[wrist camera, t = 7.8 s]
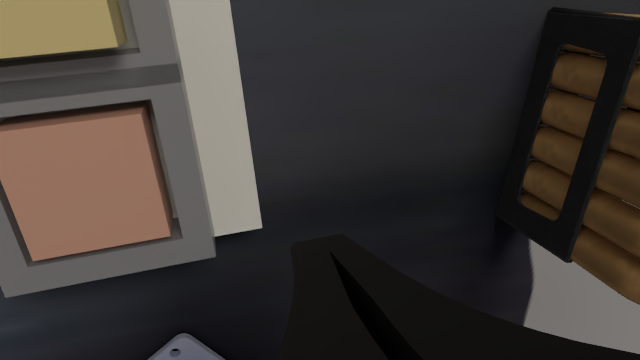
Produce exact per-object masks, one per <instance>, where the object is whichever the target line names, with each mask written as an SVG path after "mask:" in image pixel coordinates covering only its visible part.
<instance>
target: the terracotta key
mask: <svg viewBox="0 0 640 360" xmlns="http://www.w3.org/2000/svg"><path fill="white" fill-rule="evenodd" d="M0 180H1V183H2V185H3V188H4V190H5V193H6V195H7V198H8V200H9V203H10V205H11V208H12V210H13V213H14V215H15V218H16V220H17V223H18V225H19V228H20V230H21V233H22V235H23V238H24V240H25V243H26V245H27V248H28V250H29V253H30V255H31V258H32V260H33V261H37V260H43V259H48V258H54V257H59V256H65V255H70V254H76V253H81V252H87V251H92V250H98V249H103V248H109V247H114V246H120V245H125V244H131V243H136V242H142V241H147V240H153V239H158V238H164V237H169V236H171V229H172V220H173V210H172V206H171V201H170V197H169V193H168V188H167V184H166V180H165V176H164V171H163V167H162V163H161V159H160V154H159V150H158V146H157V141H156V137H155V133H154V129H153V124H152V120H151V116H150V112H149V107H148V103H147V101H144V102H136V103H128V104H120V105H111V106H103V107H95V108H87V109H79V110H71V111H63V112H55V113H46V114H38V115H30V116H22V117H14V118H6V119H5V120H3V121H2V122H0Z"/></svg>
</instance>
